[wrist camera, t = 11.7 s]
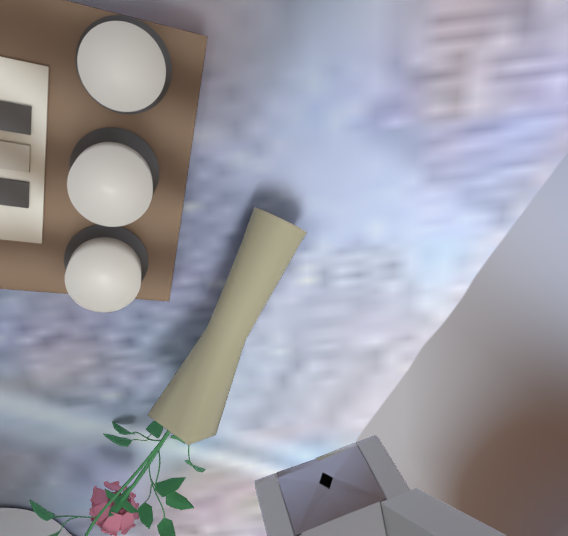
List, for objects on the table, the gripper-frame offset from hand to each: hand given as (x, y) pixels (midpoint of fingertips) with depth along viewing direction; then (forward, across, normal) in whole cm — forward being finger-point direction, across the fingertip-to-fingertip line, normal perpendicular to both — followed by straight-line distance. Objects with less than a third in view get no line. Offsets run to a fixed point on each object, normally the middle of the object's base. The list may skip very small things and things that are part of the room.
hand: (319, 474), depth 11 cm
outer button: (+27, +2, -9) cm, 28 cm away
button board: (+31, +7, -3) cm, 32 cm away
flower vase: (+31, +7, +17) cm, 36 cm away
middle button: (+25, +5, -3) cm, 26 cm away
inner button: (+27, +8, +4) cm, 28 cm away
